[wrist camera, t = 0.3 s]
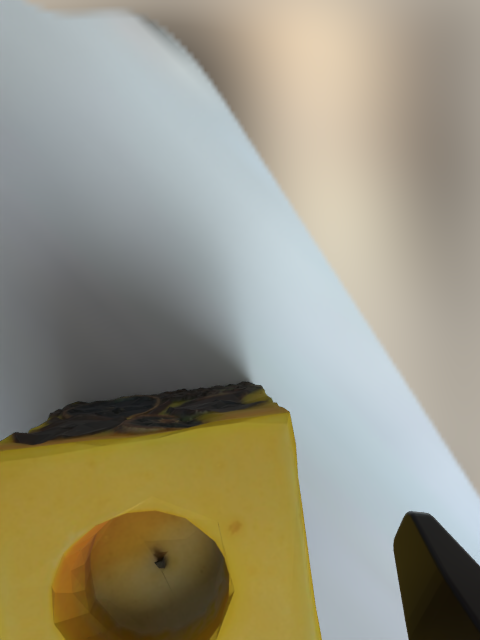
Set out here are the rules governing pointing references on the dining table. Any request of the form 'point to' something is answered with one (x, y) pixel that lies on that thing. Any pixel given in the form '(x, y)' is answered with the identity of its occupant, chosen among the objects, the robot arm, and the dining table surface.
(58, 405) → the dining table surface
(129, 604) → the candle
